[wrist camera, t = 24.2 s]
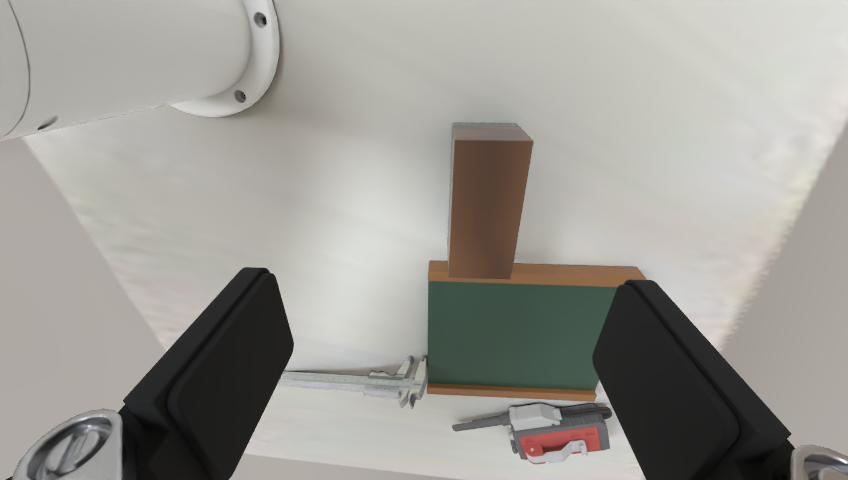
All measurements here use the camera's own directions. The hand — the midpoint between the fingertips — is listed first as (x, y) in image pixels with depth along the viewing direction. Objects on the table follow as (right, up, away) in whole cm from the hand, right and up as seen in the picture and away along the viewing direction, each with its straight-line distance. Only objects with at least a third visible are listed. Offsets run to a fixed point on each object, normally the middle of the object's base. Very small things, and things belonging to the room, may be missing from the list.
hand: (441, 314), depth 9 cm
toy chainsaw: (+14, -22, +36) cm, 45 cm away
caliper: (-10, -14, +32) cm, 36 cm away
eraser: (+4, +7, +19) cm, 21 cm away
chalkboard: (+10, -8, +28) cm, 31 cm away
